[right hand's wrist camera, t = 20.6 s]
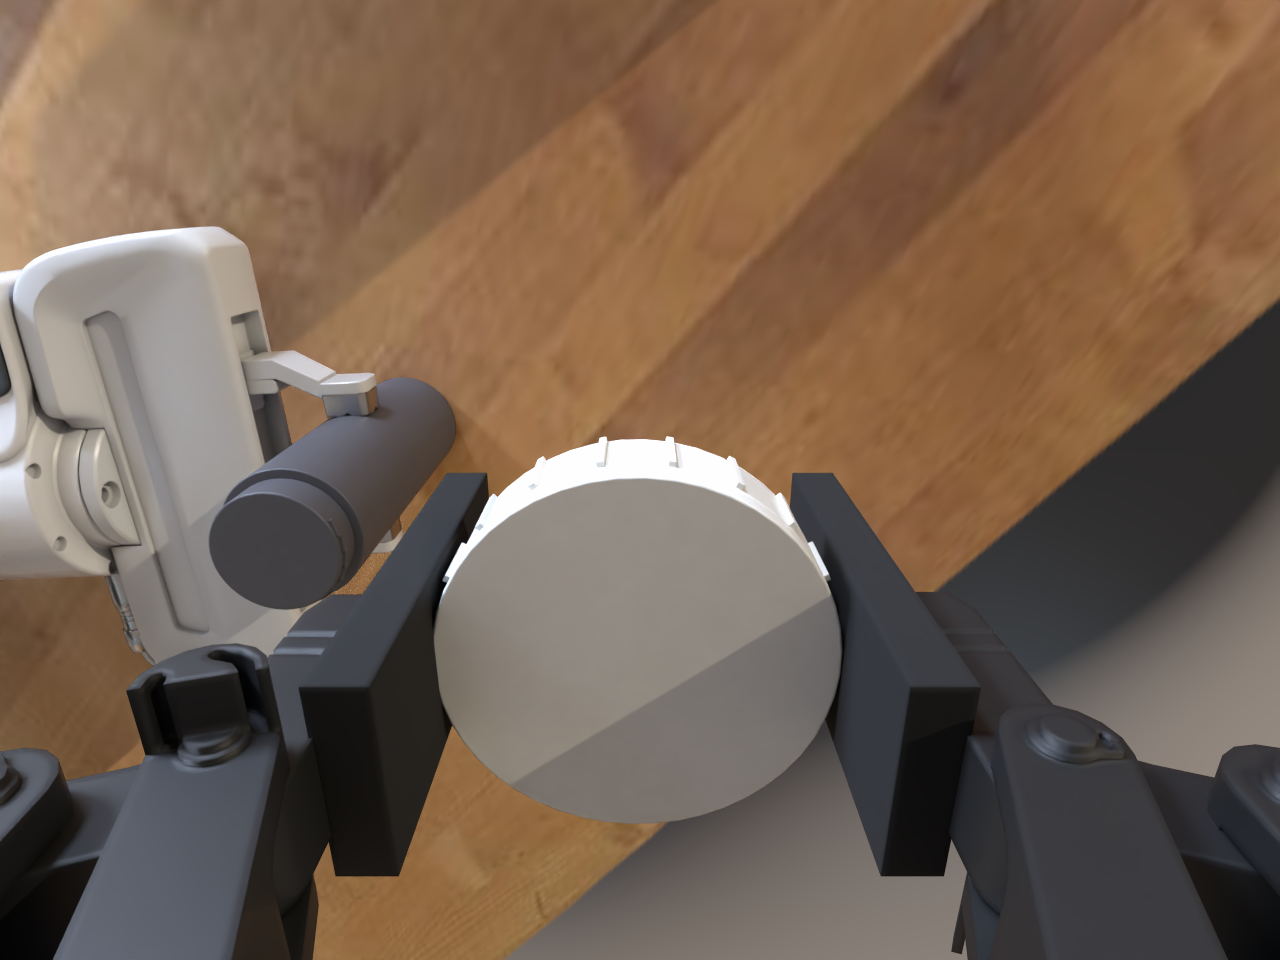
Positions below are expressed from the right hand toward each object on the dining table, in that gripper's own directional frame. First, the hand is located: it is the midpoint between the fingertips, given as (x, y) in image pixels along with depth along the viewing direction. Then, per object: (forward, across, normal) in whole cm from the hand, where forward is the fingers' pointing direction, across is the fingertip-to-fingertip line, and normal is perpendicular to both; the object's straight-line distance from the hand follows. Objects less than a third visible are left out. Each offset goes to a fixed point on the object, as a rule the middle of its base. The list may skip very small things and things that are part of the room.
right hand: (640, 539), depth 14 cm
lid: (-4, 0, 0) cm, 4 cm away
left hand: (+18, +11, +5) cm, 21 cm away
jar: (+24, +12, +5) cm, 27 cm away
